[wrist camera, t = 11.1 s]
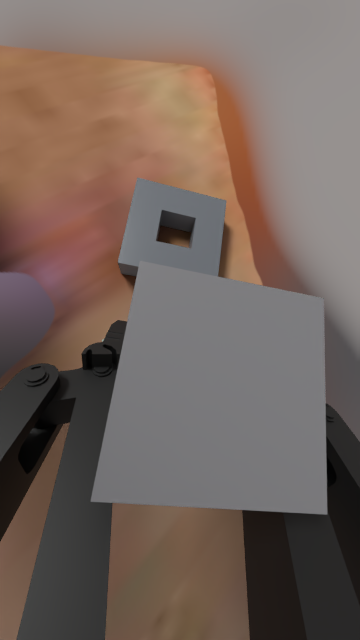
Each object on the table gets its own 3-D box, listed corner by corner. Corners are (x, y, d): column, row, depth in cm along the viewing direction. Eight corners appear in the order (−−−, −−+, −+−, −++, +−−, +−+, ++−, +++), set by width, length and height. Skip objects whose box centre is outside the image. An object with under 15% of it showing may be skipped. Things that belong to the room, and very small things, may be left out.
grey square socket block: (121, 273, 29) (117, 262, 26) (138, 196, 32) (137, 177, 29) (209, 290, 31) (217, 282, 28) (218, 216, 34) (226, 200, 31)
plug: (138, 386, 17) (90, 501, 3) (147, 334, 18) (139, 260, 4) (189, 392, 17) (327, 514, 4) (195, 342, 18) (323, 298, 5)
